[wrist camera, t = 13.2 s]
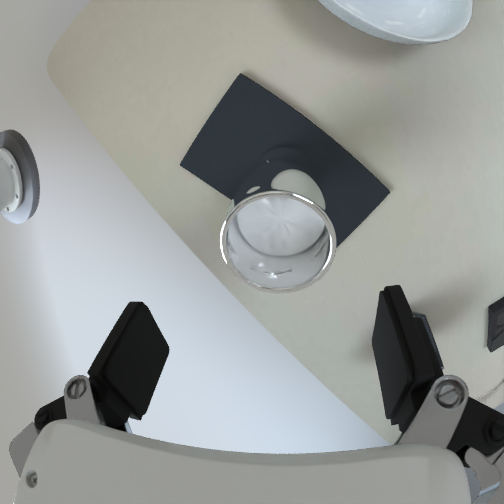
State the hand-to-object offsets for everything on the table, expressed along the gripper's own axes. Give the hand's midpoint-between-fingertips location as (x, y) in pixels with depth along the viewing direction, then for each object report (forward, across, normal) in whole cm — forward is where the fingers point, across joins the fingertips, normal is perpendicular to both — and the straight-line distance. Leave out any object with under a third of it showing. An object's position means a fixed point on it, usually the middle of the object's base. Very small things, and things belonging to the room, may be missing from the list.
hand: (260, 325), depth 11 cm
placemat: (+21, -1, 0) cm, 21 cm away
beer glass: (+21, -1, 0) cm, 21 cm away
